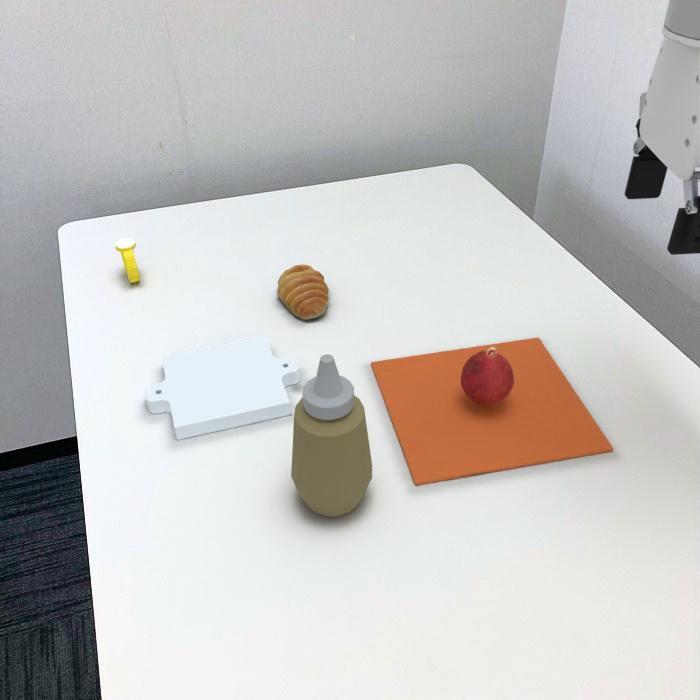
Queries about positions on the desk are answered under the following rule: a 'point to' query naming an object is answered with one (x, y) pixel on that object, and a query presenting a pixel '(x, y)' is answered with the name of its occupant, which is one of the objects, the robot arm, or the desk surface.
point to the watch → (128, 258)
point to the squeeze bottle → (330, 443)
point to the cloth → (484, 414)
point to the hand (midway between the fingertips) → (662, 223)
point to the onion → (487, 377)
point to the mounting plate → (223, 387)
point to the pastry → (303, 291)
